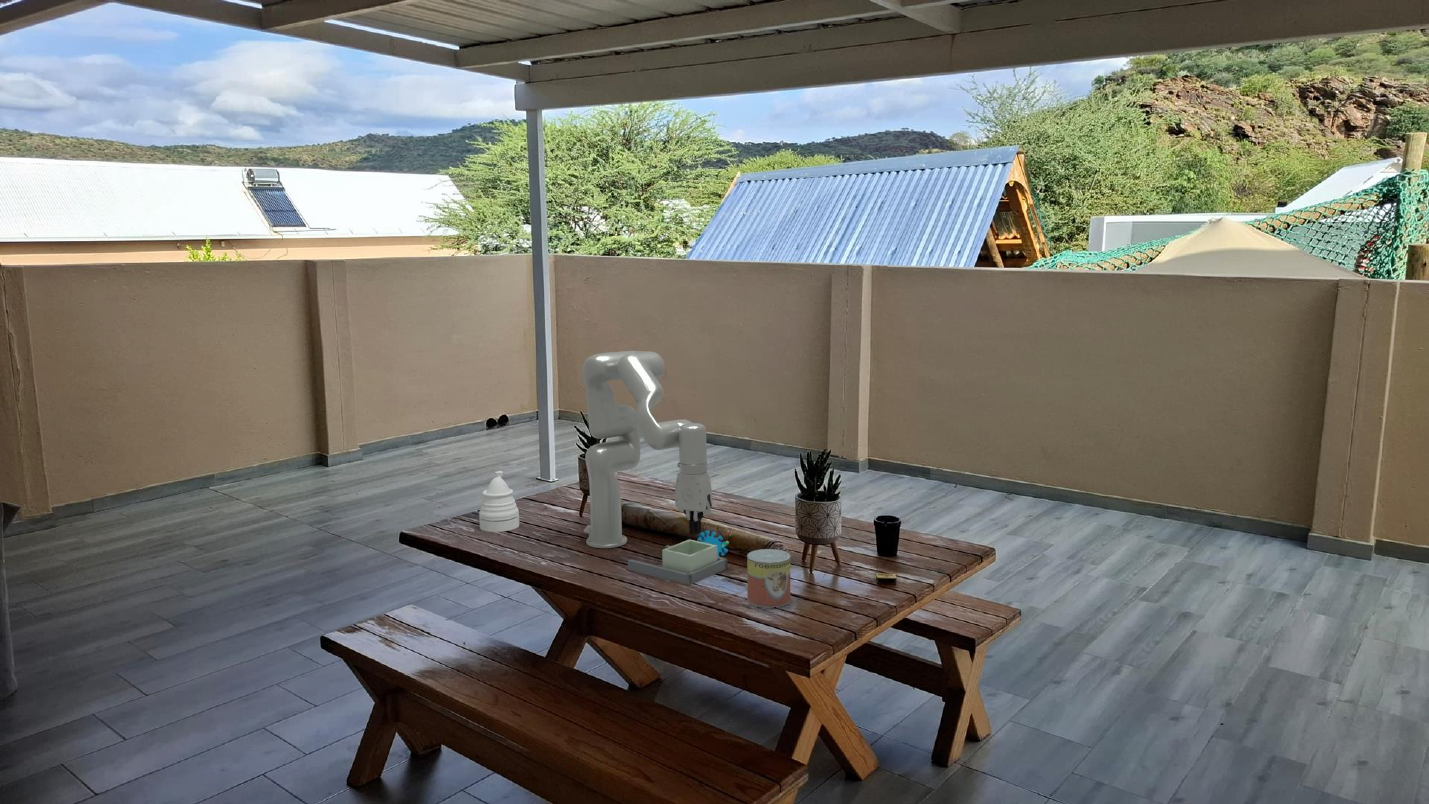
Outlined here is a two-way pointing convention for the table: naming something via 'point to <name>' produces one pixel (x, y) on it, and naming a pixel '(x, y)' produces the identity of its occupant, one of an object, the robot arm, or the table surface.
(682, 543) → the box
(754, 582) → the canned food
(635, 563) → the bay
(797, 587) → the table surface
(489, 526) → the honey pot
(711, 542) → the gear
